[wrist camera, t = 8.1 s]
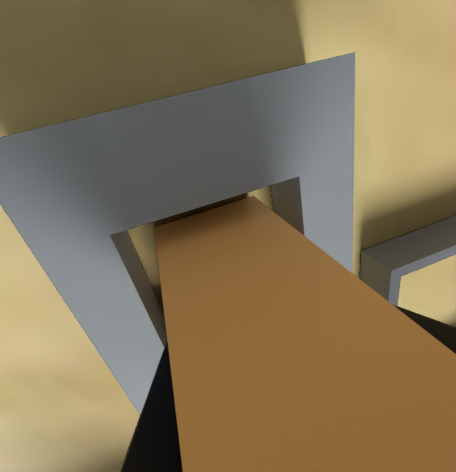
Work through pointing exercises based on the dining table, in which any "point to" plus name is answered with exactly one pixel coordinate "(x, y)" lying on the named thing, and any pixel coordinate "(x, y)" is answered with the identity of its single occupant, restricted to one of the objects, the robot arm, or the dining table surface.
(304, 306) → the tan wooden block
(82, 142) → the gray rectangular frame
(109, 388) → the dining table surface
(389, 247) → the purplish gray square frame
